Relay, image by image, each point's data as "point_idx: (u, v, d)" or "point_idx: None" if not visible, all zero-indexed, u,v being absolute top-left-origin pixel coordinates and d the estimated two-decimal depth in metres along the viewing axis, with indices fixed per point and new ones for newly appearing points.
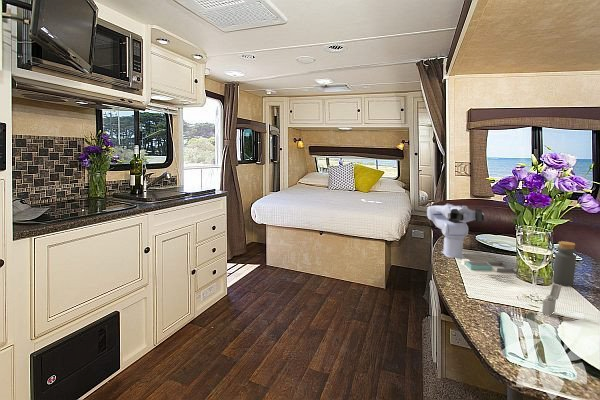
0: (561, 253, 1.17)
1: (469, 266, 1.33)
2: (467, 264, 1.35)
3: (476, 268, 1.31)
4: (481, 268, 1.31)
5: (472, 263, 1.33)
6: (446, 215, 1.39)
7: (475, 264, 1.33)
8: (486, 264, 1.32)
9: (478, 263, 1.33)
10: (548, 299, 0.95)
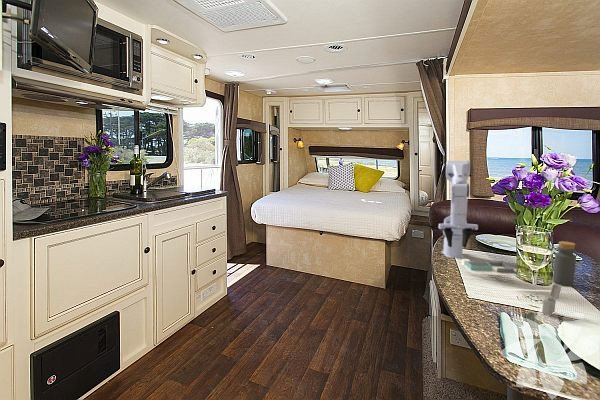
0: (561, 253, 1.17)
1: (469, 266, 1.33)
2: (467, 264, 1.35)
3: (476, 268, 1.31)
4: (481, 268, 1.31)
5: (472, 263, 1.33)
6: (439, 225, 1.33)
7: (475, 264, 1.33)
8: (486, 264, 1.32)
9: (478, 263, 1.33)
10: (548, 299, 0.95)
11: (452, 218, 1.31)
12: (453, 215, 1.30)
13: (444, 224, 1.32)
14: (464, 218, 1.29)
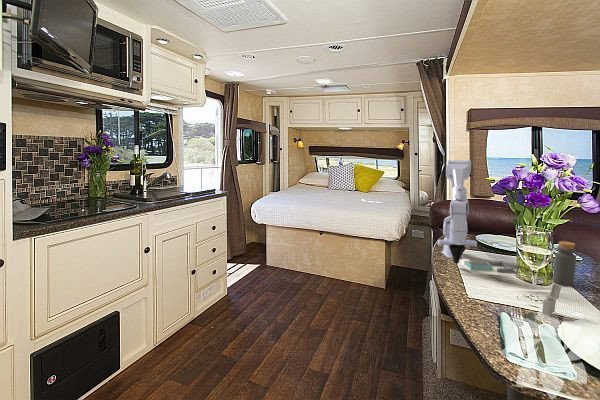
0: (561, 253, 1.17)
1: (469, 266, 1.33)
2: (467, 264, 1.35)
3: (476, 268, 1.31)
4: (481, 268, 1.31)
5: (472, 263, 1.33)
6: (438, 241, 1.34)
7: (475, 264, 1.33)
8: (486, 264, 1.32)
9: (478, 263, 1.33)
10: (548, 299, 0.95)
11: (451, 235, 1.32)
12: (452, 232, 1.31)
13: (443, 240, 1.33)
14: (463, 235, 1.30)
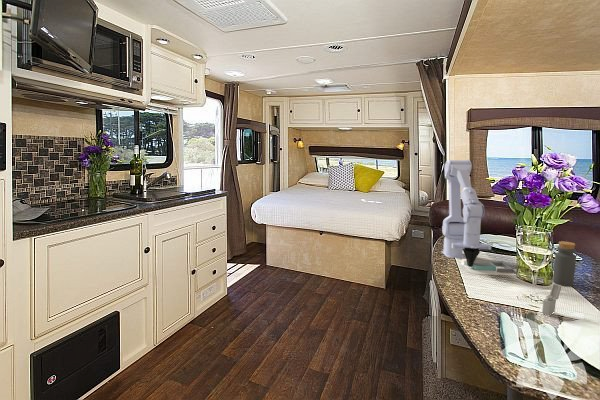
0: (561, 253, 1.17)
1: (473, 266, 1.33)
2: None
3: (480, 268, 1.31)
4: (485, 268, 1.31)
5: (476, 263, 1.33)
6: (452, 244, 1.34)
7: (478, 264, 1.33)
8: (490, 264, 1.32)
9: (482, 263, 1.33)
10: (548, 299, 0.95)
11: (465, 238, 1.31)
12: (466, 235, 1.31)
13: (457, 244, 1.33)
14: (477, 238, 1.29)
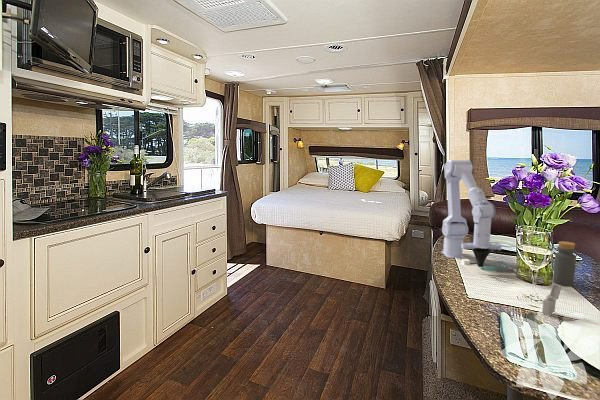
0: (561, 253, 1.17)
1: (483, 266, 1.32)
2: None
3: (490, 268, 1.30)
4: (495, 268, 1.30)
5: (486, 263, 1.33)
6: (462, 244, 1.33)
7: (488, 264, 1.32)
8: (500, 264, 1.31)
9: (492, 263, 1.33)
10: (548, 299, 0.95)
11: (475, 238, 1.31)
12: (476, 235, 1.30)
13: (467, 244, 1.32)
14: (488, 238, 1.29)
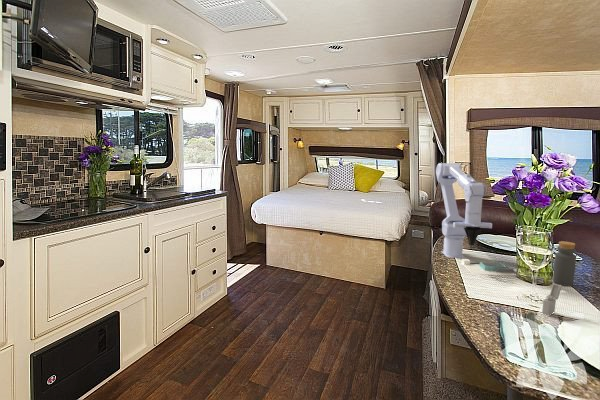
0: (561, 253, 1.17)
1: (483, 266, 1.32)
2: (480, 264, 1.34)
3: (490, 268, 1.30)
4: (495, 268, 1.30)
5: (486, 263, 1.33)
6: (453, 223, 1.36)
7: (488, 264, 1.32)
8: (500, 264, 1.31)
9: (492, 263, 1.33)
10: (548, 299, 0.95)
11: (467, 217, 1.34)
12: (468, 214, 1.33)
13: (459, 223, 1.35)
14: (479, 217, 1.32)
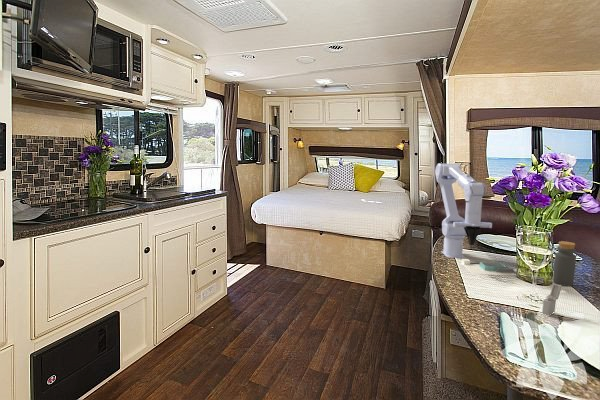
0: (561, 253, 1.17)
1: (483, 266, 1.32)
2: (480, 264, 1.34)
3: (490, 268, 1.30)
4: (495, 268, 1.30)
5: (486, 263, 1.33)
6: (453, 223, 1.36)
7: (488, 264, 1.32)
8: (500, 264, 1.31)
9: (492, 263, 1.33)
10: (548, 299, 0.95)
11: (467, 216, 1.34)
12: (468, 213, 1.33)
13: (459, 222, 1.36)
14: (479, 216, 1.32)
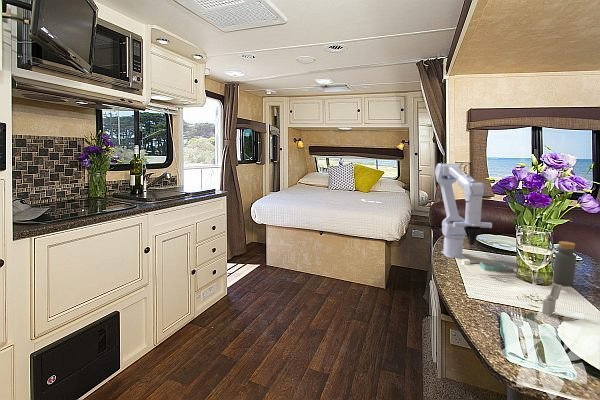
0: (561, 253, 1.17)
1: (483, 266, 1.32)
2: (480, 264, 1.34)
3: (490, 268, 1.30)
4: (495, 268, 1.30)
5: (486, 263, 1.33)
6: (453, 223, 1.36)
7: (488, 264, 1.32)
8: (500, 264, 1.31)
9: (492, 263, 1.33)
10: (548, 299, 0.95)
11: (467, 216, 1.34)
12: (468, 213, 1.33)
13: (459, 222, 1.36)
14: (479, 216, 1.32)
